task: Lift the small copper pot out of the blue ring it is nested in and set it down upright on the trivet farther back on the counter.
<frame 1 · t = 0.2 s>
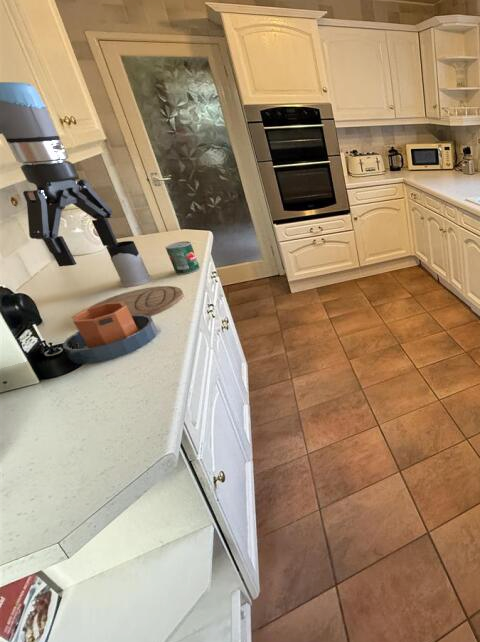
hand: (91, 254, 93), 29 cm above the countertop, tool pointing down, fingers open, 13 cm apart
canned tomato: (188, 271, 157), on the countertop
glass holder: (139, 279, 150), on the countertop
small pot: (117, 346, 107), point 1 cm above the countertop, touching blue ring
trivet: (136, 308, 129), on the countertop
blue ring: (118, 348, 107), on the countertop
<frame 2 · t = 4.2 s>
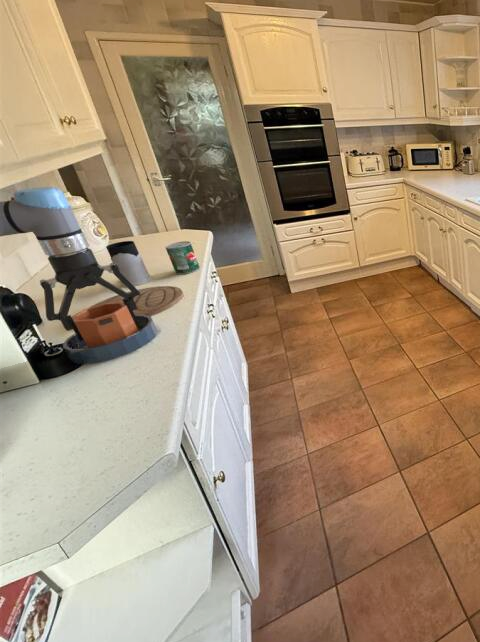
hand: (109, 329, 105), 6 cm above the countertop, tool pointing down, fingers closed on small pot, 10 cm apart
small pot: (117, 346, 107), point 1 cm above the countertop, touching blue ring, gripper
everything else where it was.
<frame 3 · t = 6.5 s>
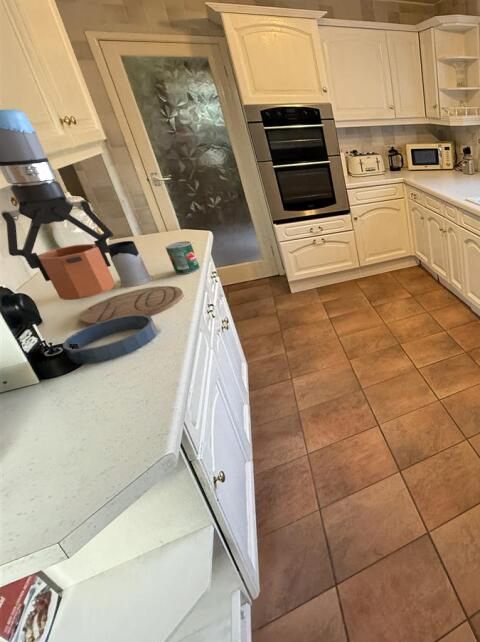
hand: (79, 272, 98), 23 cm above the countertop, tool pointing down, fingers closed on small pot, 10 cm apart
small pot: (88, 291, 100), point 17 cm above the countertop, touching gripper
everything else where it was.
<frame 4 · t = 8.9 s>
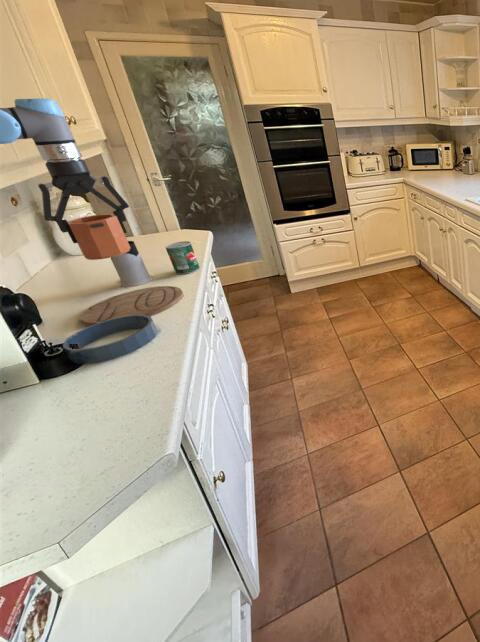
hand: (100, 237, 116), 25 cm above the countertop, tool pointing down, fingers closed on small pot, 10 cm apart
small pot: (108, 253, 119), point 20 cm above the countertop, touching gripper
everything else where it was.
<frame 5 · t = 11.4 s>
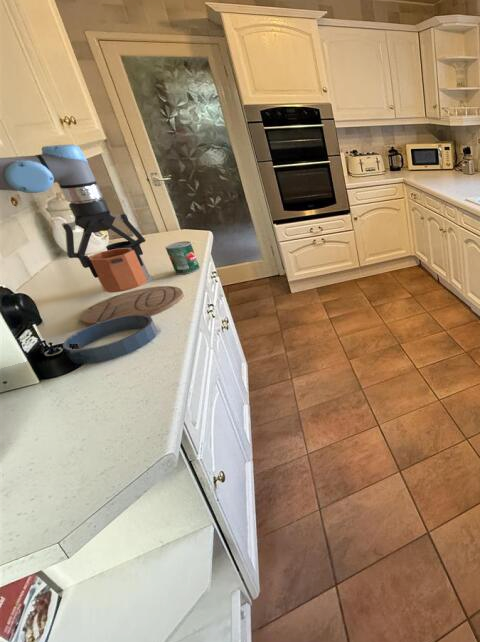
hand: (119, 270, 123), 13 cm above the countertop, tool pointing down, fingers closed on small pot, 10 cm apart
small pot: (126, 285, 125), point 8 cm above the countertop, touching gripper
everything else where it was.
when the fingers open (7 cm above the countertop, at t = 13.5 s): small pot stays where it is, resting on trivet.
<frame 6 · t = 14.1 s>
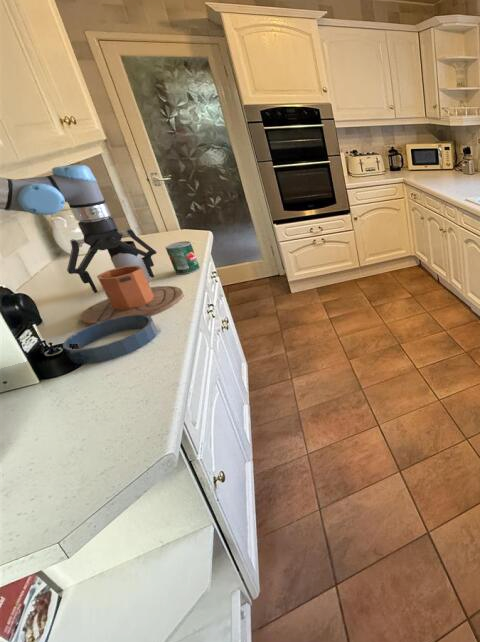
hand: (124, 283, 125), 9 cm above the countertop, tool pointing down, fingers open, 13 cm apart
small pot: (134, 302, 128), point 2 cm above the countertop, touching trivet
trivet: (136, 308, 129), on the countertop, touching small pot
everything else where it was.
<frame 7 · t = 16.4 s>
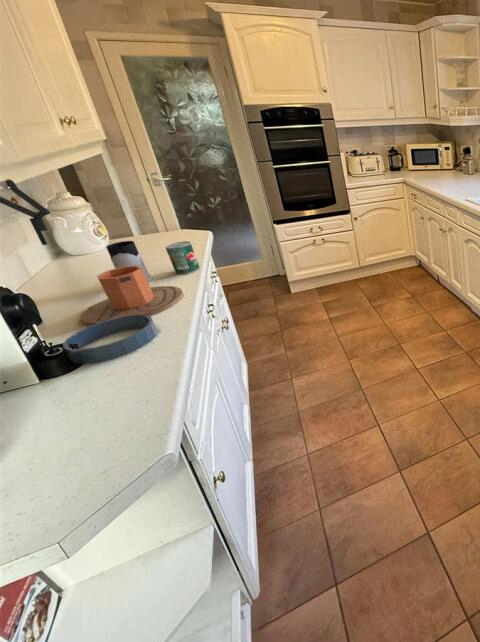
hand: (3, 251, 96), 29 cm above the countertop, tool pointing down, fingers open, 13 cm apart
nothing on the countertop moved.
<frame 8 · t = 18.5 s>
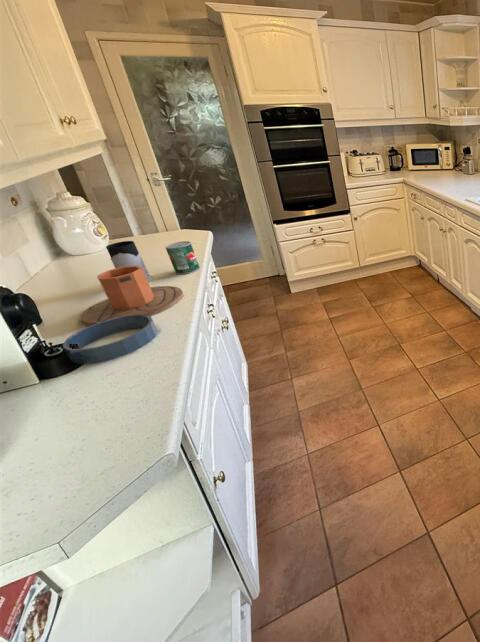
nothing on the countertop moved.
at the end: small pot inside the target area on the trivet (0.0 cm from its centre), point 2.1 cm above the trivet's base; small pot tilted 0°; small pot touching trivet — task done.
